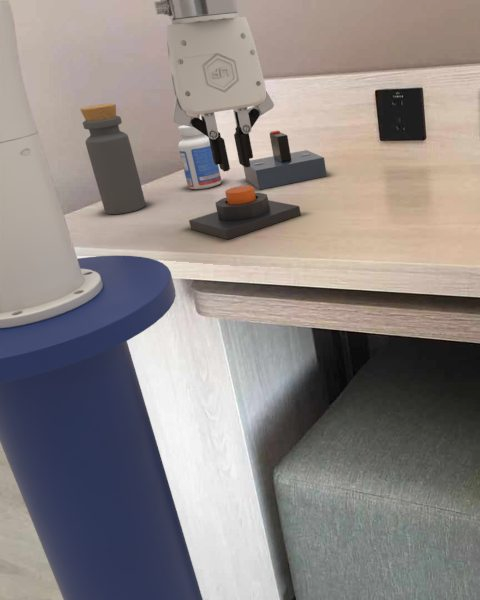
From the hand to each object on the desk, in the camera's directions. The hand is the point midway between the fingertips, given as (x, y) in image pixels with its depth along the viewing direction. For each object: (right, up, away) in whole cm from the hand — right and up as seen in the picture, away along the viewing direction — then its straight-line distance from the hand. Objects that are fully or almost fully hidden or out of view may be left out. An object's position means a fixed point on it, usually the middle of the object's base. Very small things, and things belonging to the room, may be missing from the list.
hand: (234, 166), depth 85 cm
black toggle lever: (+2, +6, +24) cm, 24 cm away
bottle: (-20, -3, +17) cm, 27 cm away
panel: (+2, +3, +25) cm, 25 cm away
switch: (0, -4, +2) cm, 5 cm away
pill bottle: (-11, +2, +26) cm, 28 cm away
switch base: (+1, -7, +3) cm, 7 cm away
